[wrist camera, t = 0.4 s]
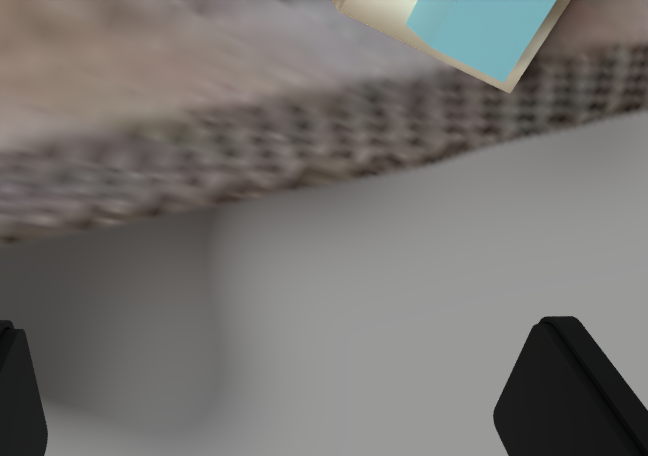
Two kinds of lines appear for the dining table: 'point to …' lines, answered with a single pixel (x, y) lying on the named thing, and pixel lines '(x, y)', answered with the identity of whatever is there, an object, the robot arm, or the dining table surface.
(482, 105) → the dining table surface
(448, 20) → the teal cube
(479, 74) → the board
